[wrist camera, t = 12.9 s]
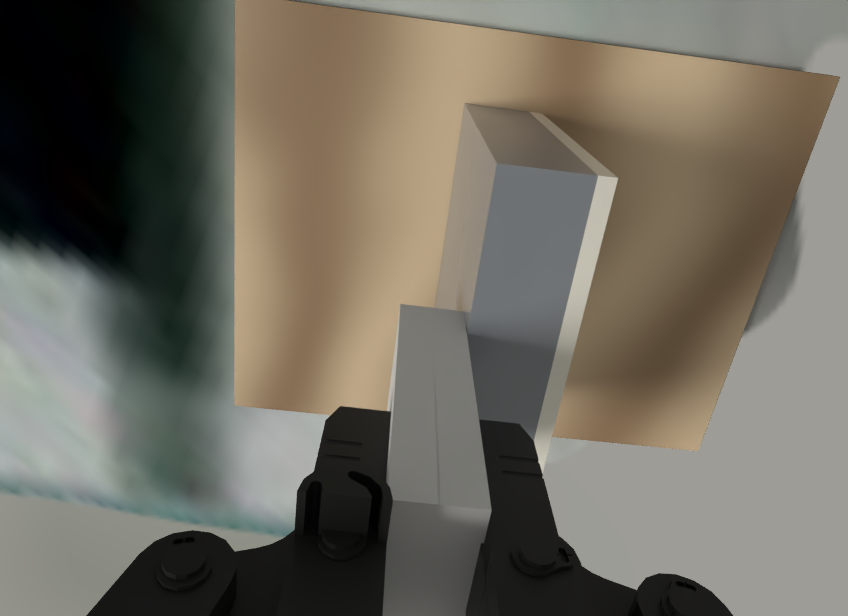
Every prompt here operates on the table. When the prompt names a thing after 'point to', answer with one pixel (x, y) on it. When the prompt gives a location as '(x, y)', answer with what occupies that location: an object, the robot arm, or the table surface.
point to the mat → (431, 191)
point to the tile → (522, 259)
